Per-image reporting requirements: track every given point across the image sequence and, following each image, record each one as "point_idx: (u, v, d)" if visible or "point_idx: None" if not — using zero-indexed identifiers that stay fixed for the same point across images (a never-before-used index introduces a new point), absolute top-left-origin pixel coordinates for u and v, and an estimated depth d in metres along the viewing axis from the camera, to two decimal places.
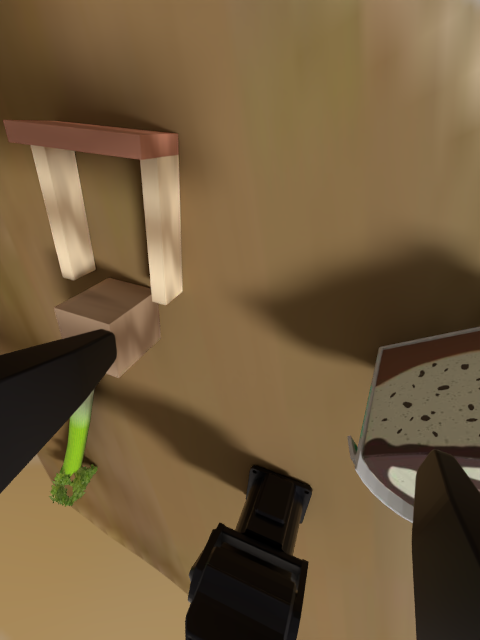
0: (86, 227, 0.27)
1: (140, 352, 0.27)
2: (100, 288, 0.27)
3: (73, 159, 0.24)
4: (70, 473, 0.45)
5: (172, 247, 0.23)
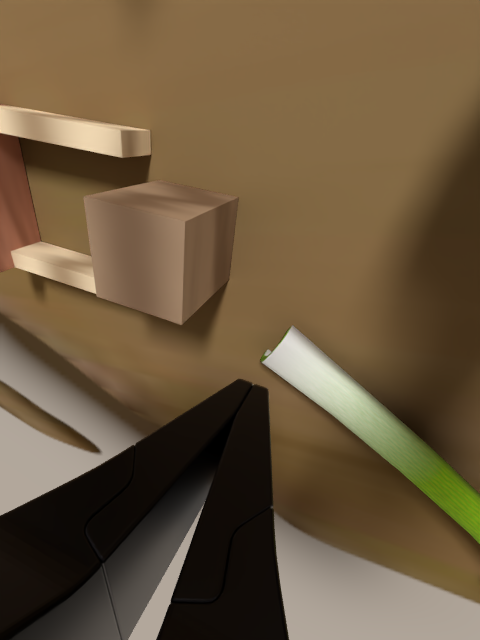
0: None
1: (205, 205, 0.15)
2: None
3: (50, 245, 0.24)
4: None
5: (72, 119, 0.18)
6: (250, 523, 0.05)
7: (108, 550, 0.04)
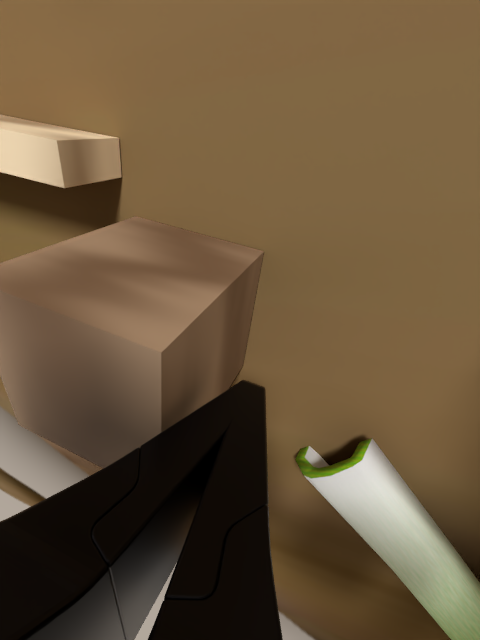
0: None
1: (207, 283, 0.08)
2: None
3: None
4: None
5: None
6: (245, 521, 0.05)
7: (115, 554, 0.04)
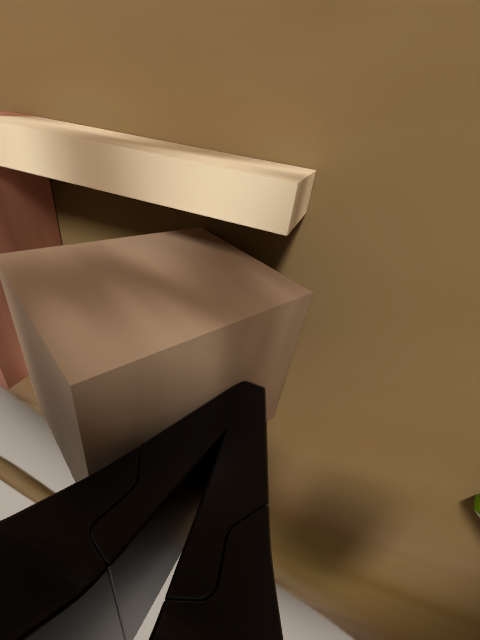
0: None
1: (206, 314, 0.07)
2: None
3: None
4: None
5: (165, 147, 0.09)
6: (246, 520, 0.05)
7: (114, 553, 0.04)
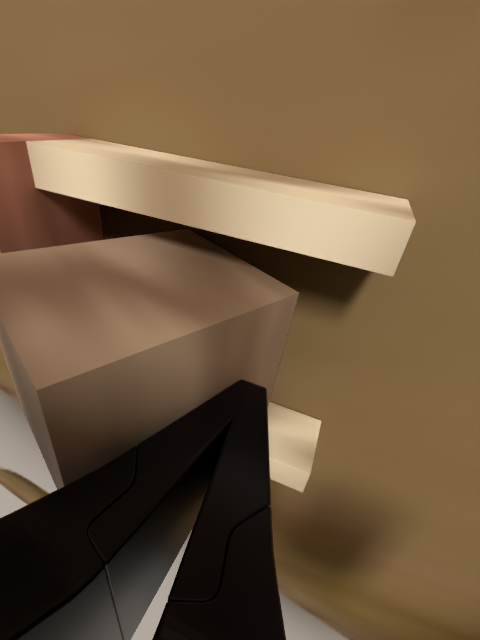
0: None
1: (186, 316, 0.07)
2: None
3: None
4: None
5: (245, 175, 0.08)
6: (248, 522, 0.05)
7: (111, 552, 0.04)
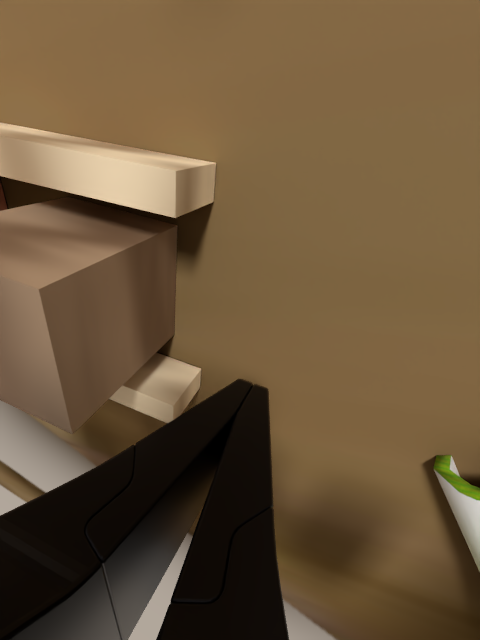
0: None
1: (108, 245, 0.10)
2: None
3: None
4: None
5: (83, 144, 0.10)
6: (250, 523, 0.05)
7: (108, 550, 0.04)
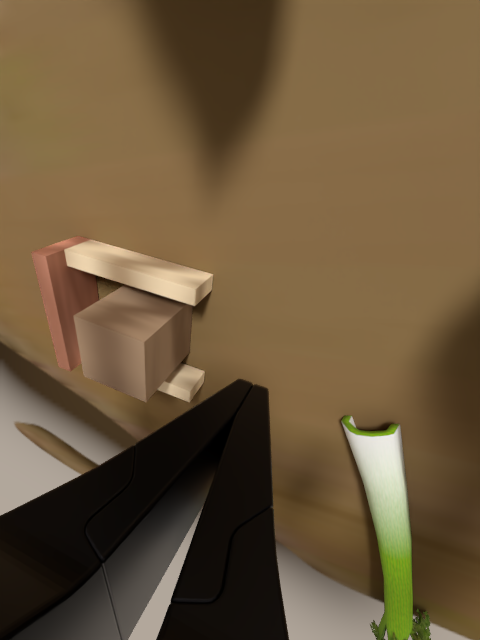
0: None
1: (163, 315, 0.21)
2: None
3: None
4: (405, 637, 0.28)
5: (149, 265, 0.22)
6: (250, 523, 0.05)
7: (108, 550, 0.04)
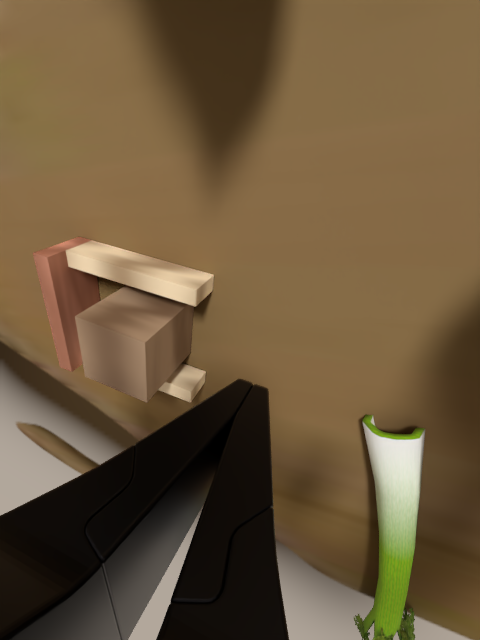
0: None
1: (164, 316, 0.21)
2: None
3: None
4: (393, 633, 0.29)
5: (150, 265, 0.22)
6: (250, 523, 0.05)
7: (108, 550, 0.04)
